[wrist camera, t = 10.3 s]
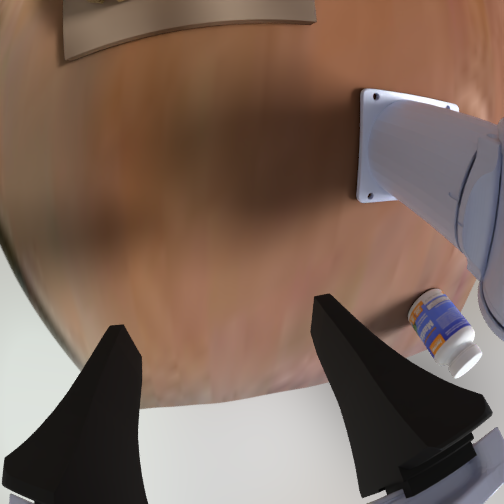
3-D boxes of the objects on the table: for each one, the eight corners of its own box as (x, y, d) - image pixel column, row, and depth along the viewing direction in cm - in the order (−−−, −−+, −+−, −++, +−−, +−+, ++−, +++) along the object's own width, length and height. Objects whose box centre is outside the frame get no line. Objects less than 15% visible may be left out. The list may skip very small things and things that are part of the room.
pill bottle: (407, 300, 26) (454, 369, 18) (443, 279, 26) (493, 339, 18) (405, 328, 29) (443, 390, 21) (439, 308, 29) (479, 364, 21)
